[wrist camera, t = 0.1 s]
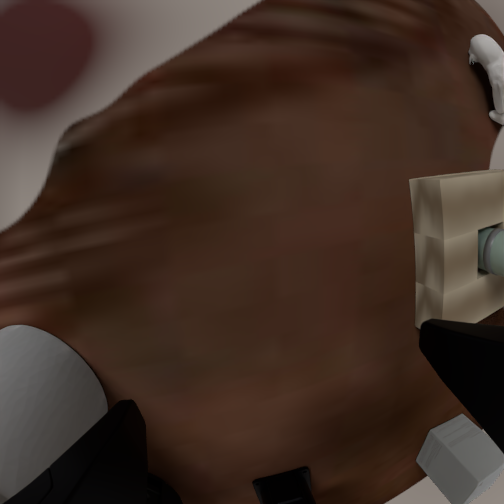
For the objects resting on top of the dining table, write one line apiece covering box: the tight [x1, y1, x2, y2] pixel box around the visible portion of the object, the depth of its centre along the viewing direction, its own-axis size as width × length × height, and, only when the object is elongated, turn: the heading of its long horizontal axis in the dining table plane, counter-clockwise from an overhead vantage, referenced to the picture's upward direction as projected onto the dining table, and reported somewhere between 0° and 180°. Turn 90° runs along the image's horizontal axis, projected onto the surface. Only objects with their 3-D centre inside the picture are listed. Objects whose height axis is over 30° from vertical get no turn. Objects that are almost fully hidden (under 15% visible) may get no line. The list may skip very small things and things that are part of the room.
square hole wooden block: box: [409, 169, 504, 329], centre depth 24 cm, size 14×14×4 cm
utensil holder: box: [0, 325, 108, 504], centre depth 13 cm, size 15×15×18 cm
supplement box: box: [416, 414, 504, 504], centre depth 26 cm, size 7×7×13 cm
